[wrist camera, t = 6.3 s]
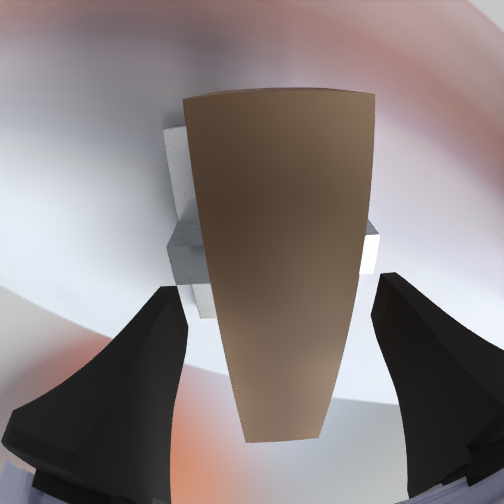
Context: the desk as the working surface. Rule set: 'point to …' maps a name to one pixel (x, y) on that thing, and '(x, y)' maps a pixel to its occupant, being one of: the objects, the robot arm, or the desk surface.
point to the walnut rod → (282, 241)
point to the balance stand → (189, 231)
